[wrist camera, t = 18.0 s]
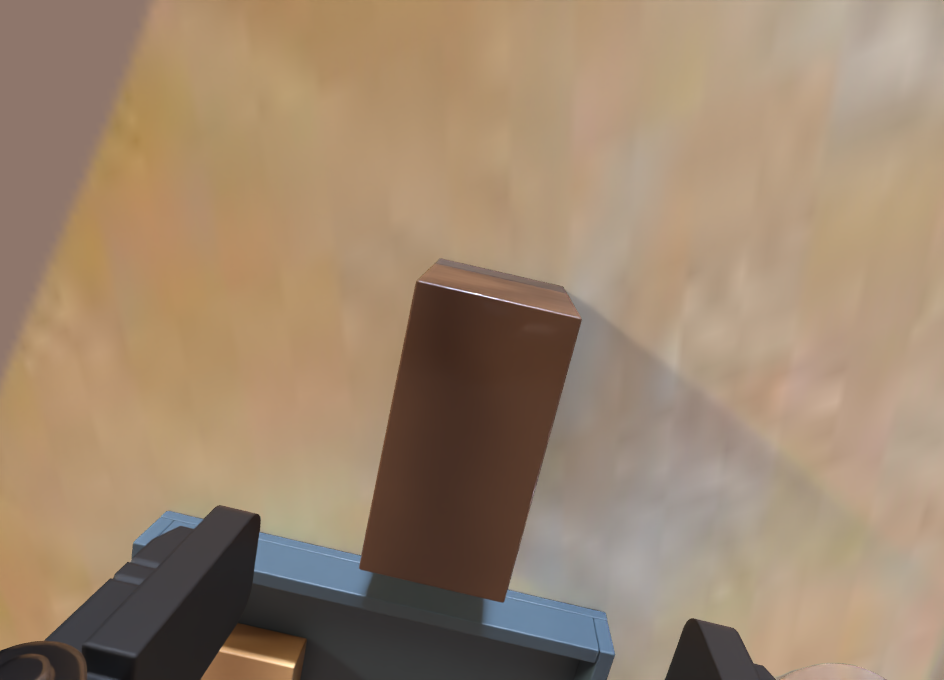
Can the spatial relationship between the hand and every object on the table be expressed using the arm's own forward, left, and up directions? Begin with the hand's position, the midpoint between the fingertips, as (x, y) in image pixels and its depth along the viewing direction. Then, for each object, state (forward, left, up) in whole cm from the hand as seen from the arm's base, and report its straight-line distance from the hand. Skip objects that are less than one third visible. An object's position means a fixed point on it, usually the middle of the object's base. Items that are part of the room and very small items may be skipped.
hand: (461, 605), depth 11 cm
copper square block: (+7, +14, -11) cm, 19 cm away
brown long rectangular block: (0, 0, -12) cm, 12 cm away
